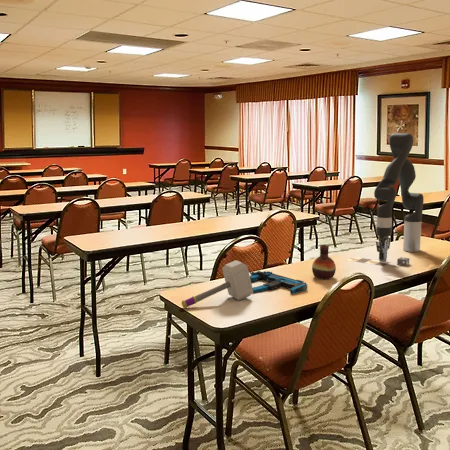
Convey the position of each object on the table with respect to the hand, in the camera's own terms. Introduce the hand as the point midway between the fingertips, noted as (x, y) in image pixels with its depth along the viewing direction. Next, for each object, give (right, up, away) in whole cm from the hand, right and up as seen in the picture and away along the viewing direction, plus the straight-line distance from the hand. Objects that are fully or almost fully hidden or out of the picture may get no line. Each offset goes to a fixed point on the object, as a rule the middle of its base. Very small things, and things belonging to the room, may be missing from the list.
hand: (382, 258), depth 274 cm
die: (+10, -4, -2) cm, 11 cm away
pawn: (0, -1, 0) cm, 1 cm away
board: (-6, -3, +5) cm, 9 cm away
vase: (-34, -8, -19) cm, 40 cm away
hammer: (-84, -15, -54) cm, 102 cm away
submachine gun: (-62, -11, -31) cm, 71 cm away
